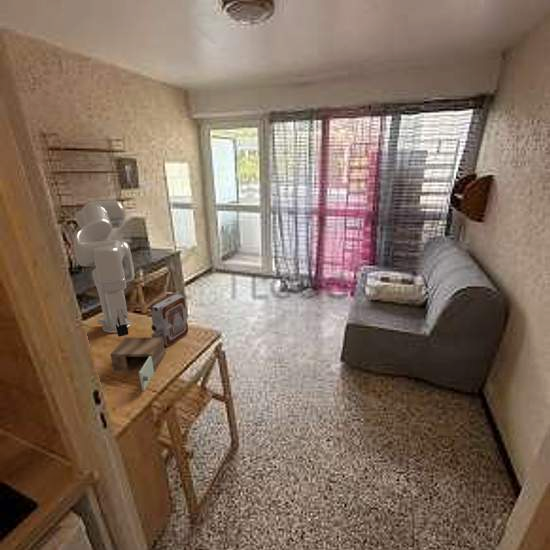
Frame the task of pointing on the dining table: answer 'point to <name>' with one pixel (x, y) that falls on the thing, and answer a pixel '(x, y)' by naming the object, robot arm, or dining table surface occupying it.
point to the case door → (146, 373)
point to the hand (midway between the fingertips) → (123, 334)
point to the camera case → (137, 353)
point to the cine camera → (169, 319)
